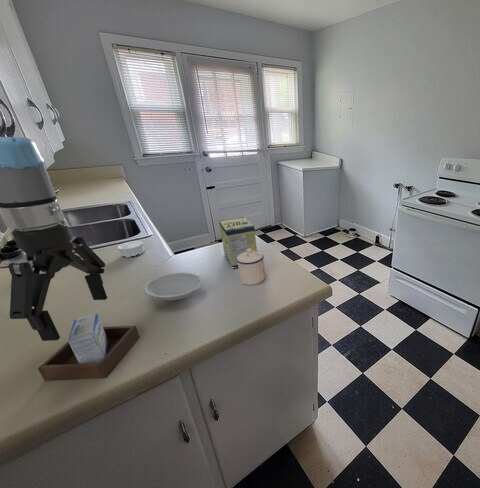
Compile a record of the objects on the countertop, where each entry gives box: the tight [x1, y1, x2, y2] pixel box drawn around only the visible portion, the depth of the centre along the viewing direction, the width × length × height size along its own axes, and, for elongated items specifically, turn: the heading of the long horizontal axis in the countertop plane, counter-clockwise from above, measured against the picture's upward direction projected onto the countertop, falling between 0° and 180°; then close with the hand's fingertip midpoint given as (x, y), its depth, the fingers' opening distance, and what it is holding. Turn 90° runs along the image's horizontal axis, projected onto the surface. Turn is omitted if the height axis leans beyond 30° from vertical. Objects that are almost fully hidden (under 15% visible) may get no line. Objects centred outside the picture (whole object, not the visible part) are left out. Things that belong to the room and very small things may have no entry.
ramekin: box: [117, 240, 145, 257], centre depth 115 cm, size 9×9×4 cm
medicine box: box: [67, 313, 108, 364], centre depth 61 cm, size 8×4×9 cm, turn 34°
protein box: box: [218, 216, 258, 268], centre depth 108 cm, size 10×16×16 cm
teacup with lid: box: [236, 249, 266, 286], centre depth 95 cm, size 12×9×12 cm
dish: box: [143, 272, 203, 302], centre depth 85 cm, size 18×14×5 cm
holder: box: [37, 325, 141, 382], centre depth 63 cm, size 13×13×4 cm
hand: (78, 317), depth 59 cm, fingers open, 13 cm apart
